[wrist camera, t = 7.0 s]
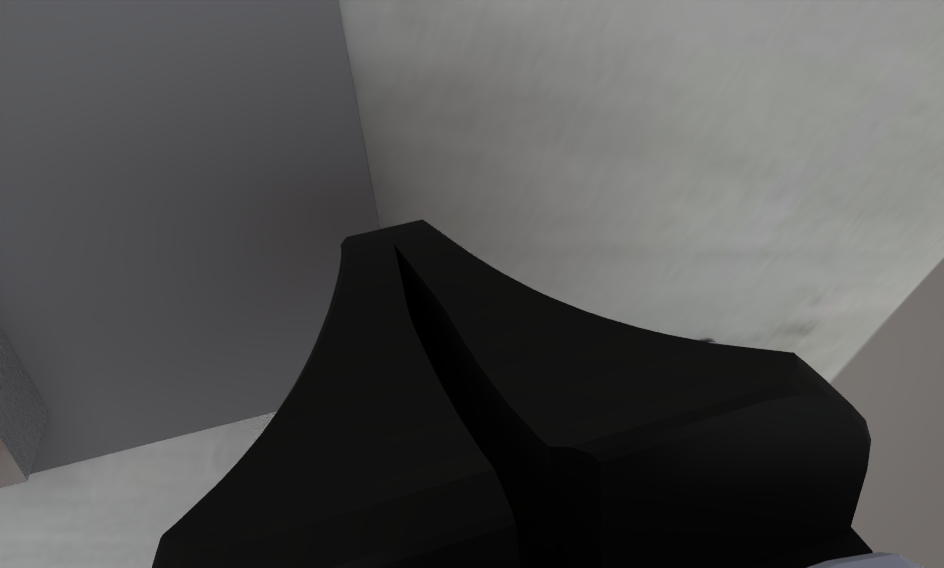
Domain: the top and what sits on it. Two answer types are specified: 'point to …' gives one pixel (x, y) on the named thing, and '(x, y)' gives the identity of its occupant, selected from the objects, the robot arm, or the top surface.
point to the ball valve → (17, 417)
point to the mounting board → (171, 208)
